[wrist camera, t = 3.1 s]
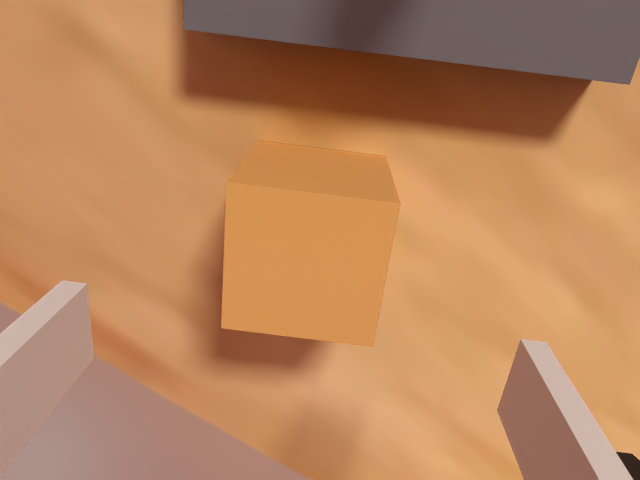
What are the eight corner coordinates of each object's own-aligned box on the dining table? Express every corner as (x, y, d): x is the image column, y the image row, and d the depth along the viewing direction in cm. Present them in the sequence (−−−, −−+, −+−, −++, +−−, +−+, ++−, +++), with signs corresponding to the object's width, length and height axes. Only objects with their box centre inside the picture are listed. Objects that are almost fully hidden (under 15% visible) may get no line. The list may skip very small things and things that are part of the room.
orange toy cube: (251, 256, 27) (221, 328, 20) (258, 140, 24) (226, 181, 18) (366, 270, 27) (373, 346, 20) (385, 156, 24) (400, 203, 18)
